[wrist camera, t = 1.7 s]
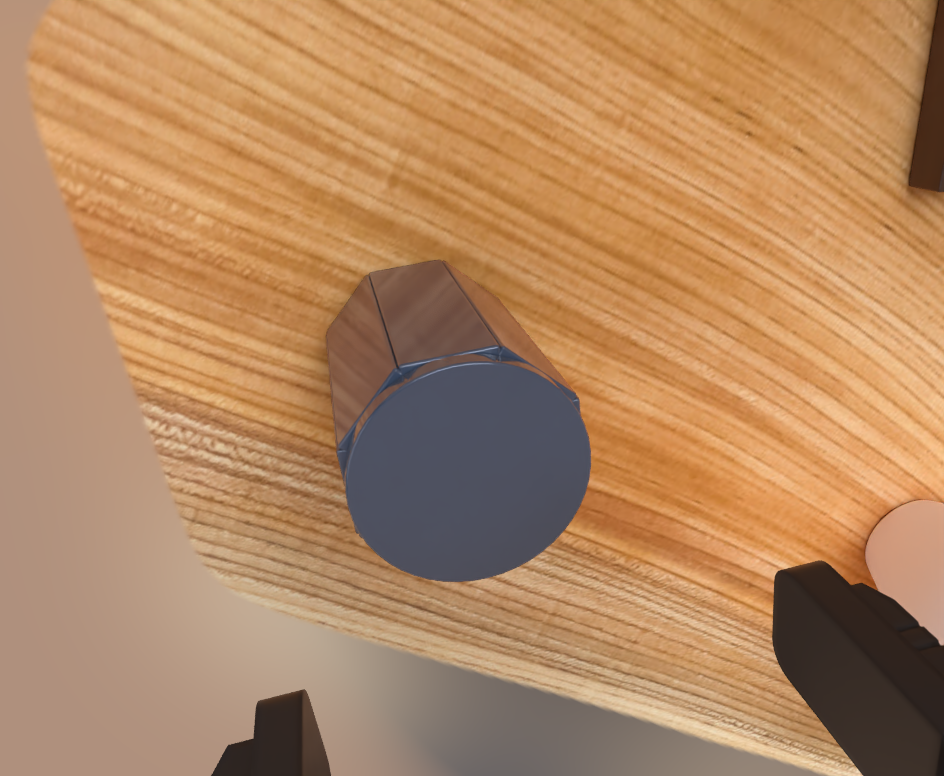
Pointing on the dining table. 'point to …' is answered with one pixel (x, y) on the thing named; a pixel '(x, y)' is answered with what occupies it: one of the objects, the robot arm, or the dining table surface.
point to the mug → (912, 561)
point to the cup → (451, 426)
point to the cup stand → (932, 118)
